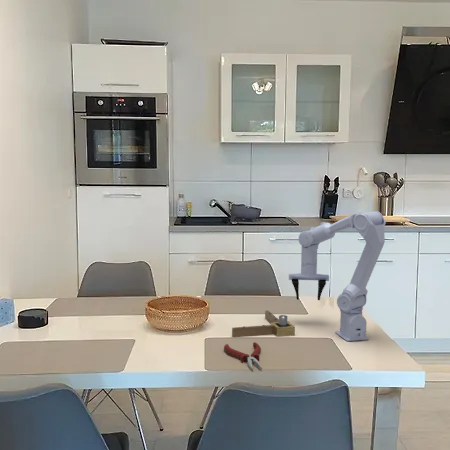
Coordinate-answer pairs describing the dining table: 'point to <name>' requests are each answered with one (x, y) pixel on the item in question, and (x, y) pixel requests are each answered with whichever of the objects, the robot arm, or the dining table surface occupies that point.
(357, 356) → the dining table surface
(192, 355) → the dining table surface
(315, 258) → the robot arm
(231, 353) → the pliers
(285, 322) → the hinge pin
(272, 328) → the hinge
